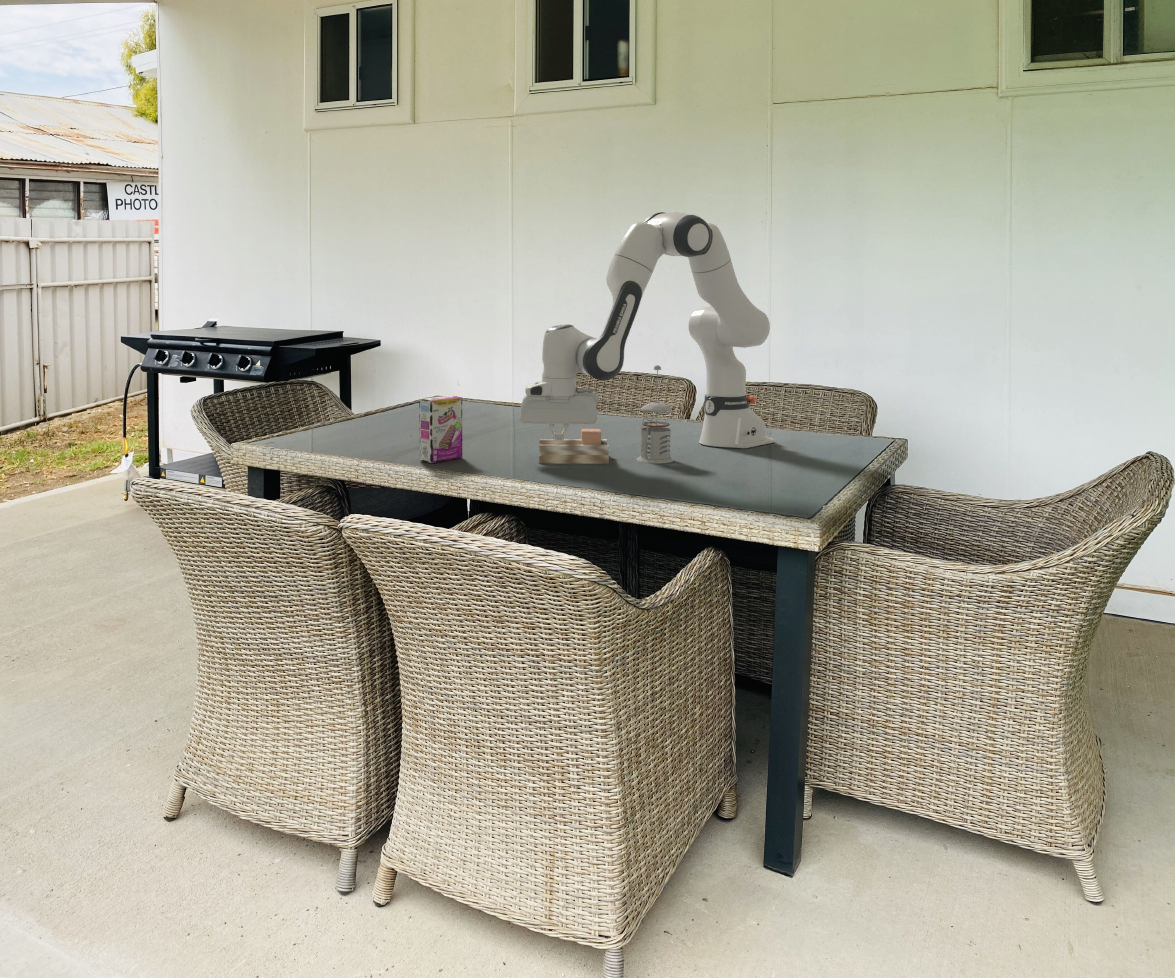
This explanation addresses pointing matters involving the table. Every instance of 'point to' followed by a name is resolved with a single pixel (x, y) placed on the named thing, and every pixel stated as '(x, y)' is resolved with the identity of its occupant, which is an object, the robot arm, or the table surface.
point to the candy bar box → (440, 428)
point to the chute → (572, 452)
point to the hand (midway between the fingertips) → (558, 440)
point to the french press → (655, 434)
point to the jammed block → (590, 437)
